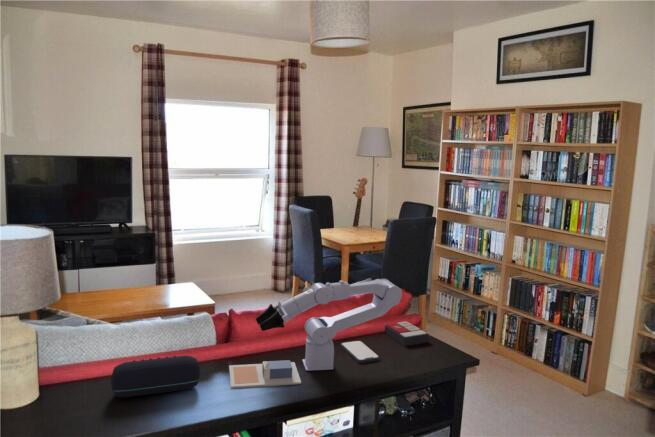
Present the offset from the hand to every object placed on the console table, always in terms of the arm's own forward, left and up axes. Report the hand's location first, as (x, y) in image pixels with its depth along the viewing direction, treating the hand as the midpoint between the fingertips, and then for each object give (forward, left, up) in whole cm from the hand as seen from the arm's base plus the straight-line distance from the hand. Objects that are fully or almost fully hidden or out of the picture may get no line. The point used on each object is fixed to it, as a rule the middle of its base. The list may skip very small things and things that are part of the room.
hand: (258, 324), depth 168 cm
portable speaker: (+31, +8, -17) cm, 36 cm away
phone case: (-38, -10, -17) cm, 43 cm away
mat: (-2, +3, -16) cm, 17 cm away
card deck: (-6, +4, -16) cm, 17 cm away
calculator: (-60, -22, -17) cm, 67 cm away
